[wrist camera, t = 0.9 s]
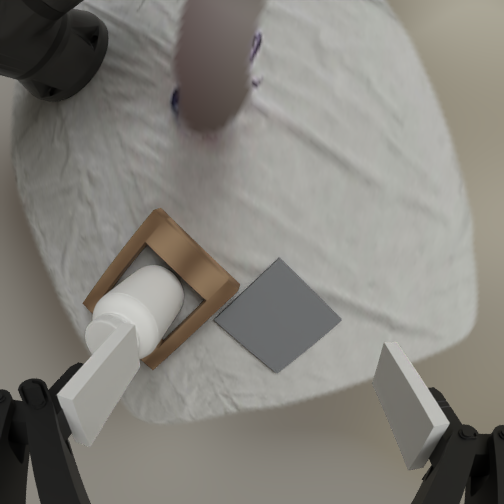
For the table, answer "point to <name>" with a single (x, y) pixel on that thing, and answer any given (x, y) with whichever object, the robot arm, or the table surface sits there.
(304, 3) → the table surface
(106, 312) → the pill bottle
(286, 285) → the mat
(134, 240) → the pocket board
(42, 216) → the table surface
